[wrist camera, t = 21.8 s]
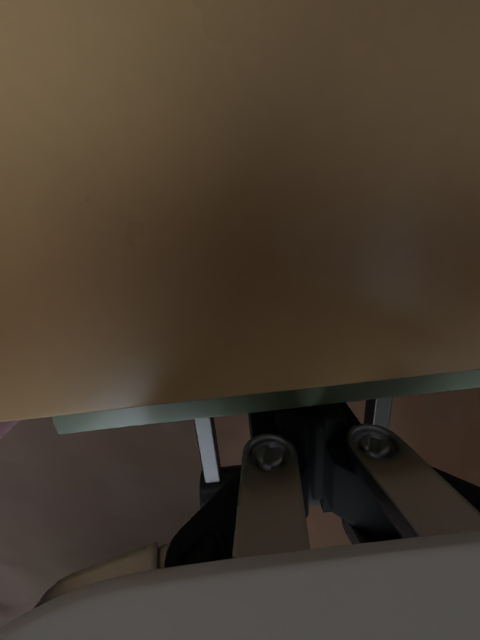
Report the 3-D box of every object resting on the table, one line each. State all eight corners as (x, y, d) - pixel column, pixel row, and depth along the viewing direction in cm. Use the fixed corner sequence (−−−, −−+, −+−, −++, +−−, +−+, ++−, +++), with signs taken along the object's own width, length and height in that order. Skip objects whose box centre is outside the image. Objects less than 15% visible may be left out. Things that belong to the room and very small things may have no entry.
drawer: (380, 398, 15) (493, 521, 9) (158, 423, 15) (112, 570, 9) (447, -167, 8) (1241, -1554, 2) (24, -149, 8) (-872, -1842, 1)
